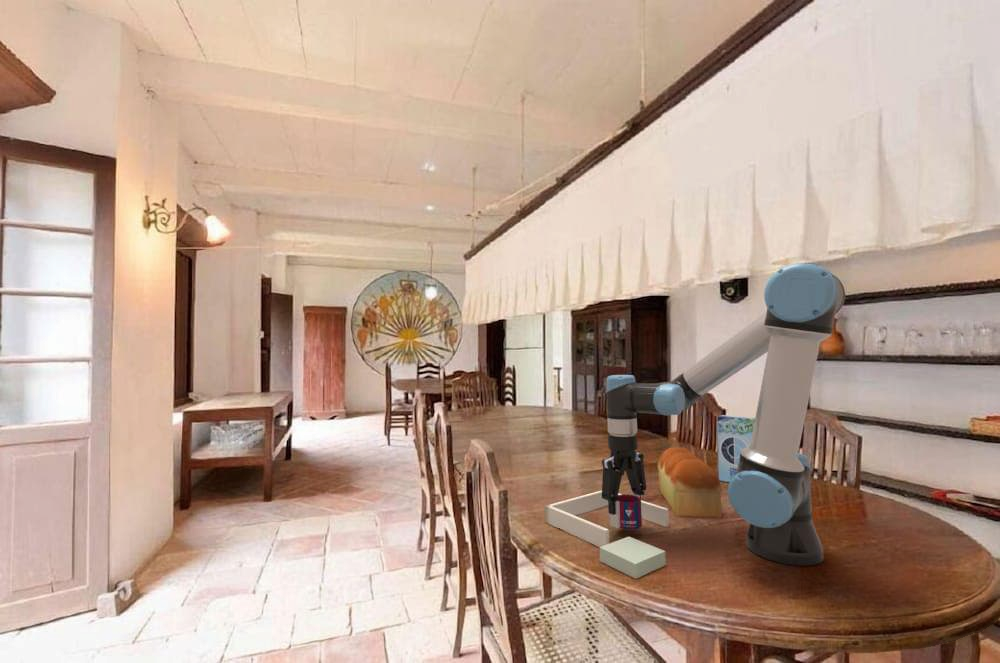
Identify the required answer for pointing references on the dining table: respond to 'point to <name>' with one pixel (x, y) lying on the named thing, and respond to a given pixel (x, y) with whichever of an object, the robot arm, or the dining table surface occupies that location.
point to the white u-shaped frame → (588, 531)
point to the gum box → (732, 443)
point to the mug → (630, 512)
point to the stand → (632, 557)
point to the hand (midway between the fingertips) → (625, 522)
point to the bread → (689, 484)
